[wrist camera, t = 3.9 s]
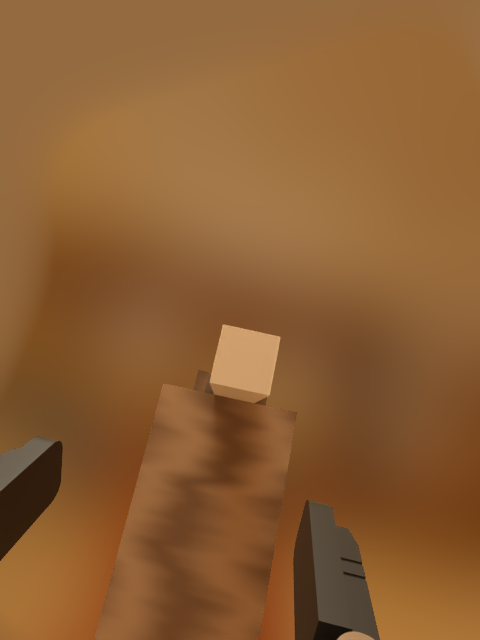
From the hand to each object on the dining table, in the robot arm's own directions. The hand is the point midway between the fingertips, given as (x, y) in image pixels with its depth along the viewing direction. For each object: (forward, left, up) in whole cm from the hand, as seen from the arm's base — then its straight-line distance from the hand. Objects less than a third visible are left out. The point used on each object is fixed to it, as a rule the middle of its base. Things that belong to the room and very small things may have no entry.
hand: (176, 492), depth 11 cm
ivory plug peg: (0, -15, +4) cm, 15 cm away
